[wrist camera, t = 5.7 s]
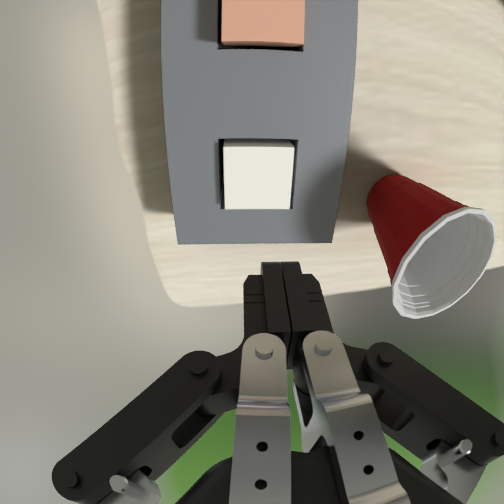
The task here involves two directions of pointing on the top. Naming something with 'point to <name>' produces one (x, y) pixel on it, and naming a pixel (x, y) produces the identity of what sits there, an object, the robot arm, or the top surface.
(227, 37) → the terracotta key
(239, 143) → the ivory key
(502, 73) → the top surface
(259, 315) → the robot arm
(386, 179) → the plastic cup
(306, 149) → the key panel
